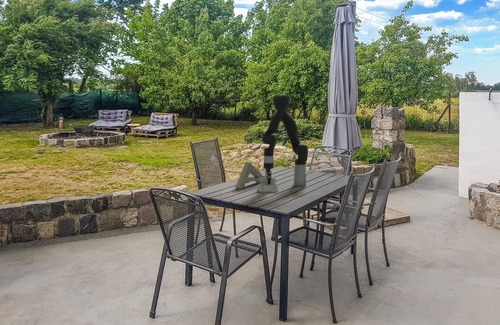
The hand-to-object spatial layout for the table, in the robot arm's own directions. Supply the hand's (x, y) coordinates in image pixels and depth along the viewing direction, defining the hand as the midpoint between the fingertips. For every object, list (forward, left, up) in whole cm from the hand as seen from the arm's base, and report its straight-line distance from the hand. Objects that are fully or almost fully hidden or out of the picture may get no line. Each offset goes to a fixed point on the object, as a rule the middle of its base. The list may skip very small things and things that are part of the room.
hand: (268, 183), depth 283 cm
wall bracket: (+10, -18, -6) cm, 22 cm away
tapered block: (0, 0, -5) cm, 5 cm away
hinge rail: (0, 0, -6) cm, 6 cm away
